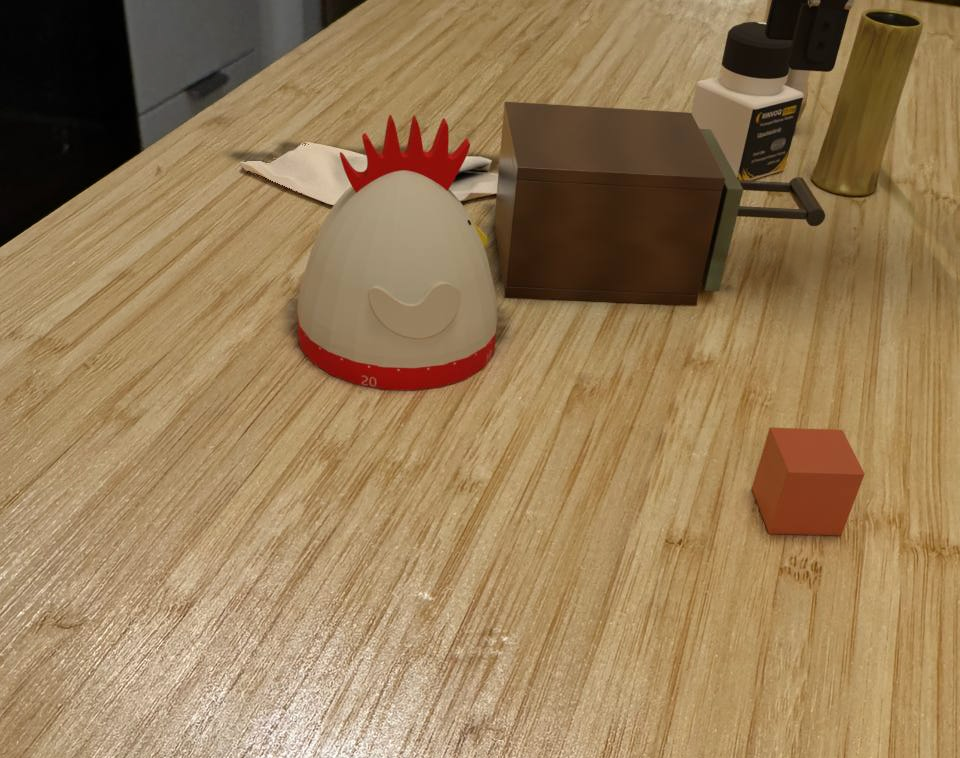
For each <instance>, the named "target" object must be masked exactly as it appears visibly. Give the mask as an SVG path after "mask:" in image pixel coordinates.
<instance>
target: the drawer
mask: <svg viewBox="0 0 960 758" xmlns="http://www.w3.org/2000/svg"><path fill="white" fill-rule="evenodd" d="M700 131H701V133H702V135H703V137H704V139H705V141H706V143H707V144H708V146H709V148H710V150H711V152H712V154H713V156H714V158H715V160H716V162H717V164H718V166H719V168H720V170H721V171H722V173H723V175H724V177H725V182H724V186H723V190H722V194H721V199H720V203H719V208H718V212H717V217H716V221H715V225H714V230H713V234H712V239H711V243H710V248H709V252H708V257H707V261H706V265H705V270H704V274H703V279H702V283H701V287H702V288H703V291H705V292H720V289H721V287H722V286H721V285H722V281H723V277H724V273H725V270H726V269H725V268H726V264H727V260H728V255H729V253H730V248H731V244H732V239H733V235H734V230H735V226H736V223H737V217H743V218H746V217H747V218H764V219H782V220H784V219H786V220H805V222H806V223H807V225H809V226H810V227H818V226H820V225H821V224H822V223H823V222H824V221H825V219H826V213H825V210H824V209H823V207H822V206H821V204H820V202H819V201H818V199H817V198H816V196H815V195H814V193H813V191H812V190H811V188H810V186H809V185H808V184H807V182H806V181H805V179H804V178H803V177H800V176H796V177H794V178H792V179H791V180H790V181H789V182H784V181H783V182H782V181H768V180H767V181H765V180H750V181H749V180H738V179H737V177H736V175H735V173H734V171H733V170H732V168H731V166H730V164H729V162H728V160H727V158H726V157H725V155H724V153H723V151H722V149H721V147H720V145H719V144H718V142H717V140H716V138H715V136H714V134H713V132H712V131H711V130H710V129H700ZM744 191H753V192H769V193H770V192H771V193H788V194H790V196H791V198H792V200H793V202H794V203H795V204H796V206H797V208H787V207H786V208H784V207H768V206H767V207H766V206H747V205H741V201H742V198H743V193H744Z"/></svg>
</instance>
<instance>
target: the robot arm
mask: <svg viewBox="0 0 960 758" xmlns="http://www.w3.org/2000/svg"><path fill="white" fill-rule="evenodd" d="M854 3H855V0H772V1H771V5H770V10H769V14H768V19H767V23H766V27H765V35H766V36H767V38H769V39H777V40H792V44H791V49H790V53H789V57H788V61H787V64H788V66H789V67H790V68H791V69H792V70H805V71H810V72H822V73H823V72H824V73H829V72H832V71H833V70H834V69H835V65H836V63H837V58H838V54H839V51H840V47H841V44H842V40H843V37H844V32H845V29H846V25H847V21H848V17H849V14H850V11H851V9H852V8H853V6H854Z"/></svg>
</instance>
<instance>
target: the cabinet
mask: <svg viewBox="0 0 960 758" xmlns="http://www.w3.org/2000/svg"><path fill="white" fill-rule="evenodd" d="M497 174H498V184H497V194H496V198H495V207H494V220H493V226H494V232H495V239H496V245H497V252H498V260H499V266H500V272H501V279H502V286H503V293H504V297H505V298H509V299H510V298H511V299H512V298H514V299H533V300H534V299H535V300H536V299H537V300H557V301H559V300H560V301H583V302H602V303H603V302H605V303H623V304H624V303H626V304H631V303H632V304H647V305H648V304H651V305H671V306H672V305H673V306H674V305H675V306H694V307H695V306H697V305H698V301H699V298H700V297H699V296H700V293H701V288H702V279H703V274H704V270H705V265H706V261H707V257H708V252H709V248H710V243H711V239H712V234H713V230H714V225H715V221H716V217H717V212H718V208H719V203H720V199H721V194H722V190H723V186H724V182H725V177H724V175H723V173H722V171H721V170H720V168H719V166H718V164H717V162H716V160H715V158H714V156H713V154H712V152H711V150H710V148H709V146H708V144H707V143H706V141H705V139H704V137H703V135H702V133H701V131H700V129H699V127H698V125H697V123H696V121H695V119H694V117H693V116H692V114H691V112H686V111H684V112H683V111H667V110H650V109H633V108H632V109H631V108H619V107H617V108H616V107H601V106H584V105H569V104H568V105H567V104H552V103H551V104H549V103H536V102H535V103H534V102H518V101H517V102H516V101H504V103H503V115H502V128H501V140H500V151H499V161H498V173H497Z"/></svg>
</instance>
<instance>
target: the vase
mask: <svg viewBox="0 0 960 758" xmlns="http://www.w3.org/2000/svg"><path fill="white" fill-rule="evenodd" d="M923 27H924V21H923V20H922V19H921V18H920V17H919V16H917V15H914V14H911V13H909V12H905V11H900V10H895V9H888V8H887V9H886V8H871V9H866V10H864V11H863V12H862V13H861V16H860V18H859V23H858V27H857V29H856V30H857V31H856V34H855V37H854V41H853V44H852V48H851V52H850V55H849V58H848V60H847V64H846V68H845V71H844V75H843V78H842V81H841V84H840V88H839V90H838V94H837V97H836V101H835V104H834V107H833V110H832V114H831V117H830V120H829V124H828V127H827V130H826V133H825V136H824V139H823V142H822V145H821V149H820V152H819V155H818V159H817V161H816V164H815V166H814V169H813V171H812V172H811V174H810V175H811V181H812V182H813V183H814V184H815V185H816V186H818V187H819V188H821V189H822V190H824V191H827V192H830V193H832V194H836V195H841V196H846V197H847V196H848V197H864V196H867V195H870V194H872V193H874V192H875V191H876V190H877V188H878V181H879V177H880V170H881V167H882V162H883V159H884V155H885V152H886V147H887V145H888V142H889V139H890V138H889V137H890V135H891V131H892V128H893V124H894V122H895V121H894V120H895V117H896V114H897V110H898V107H899V104H900V100H901V97H902V94H903V91H904V88H905V85H906V82H907V78H908V76H909V72H910V70H911V66H912V63H913V60H914V57H915V54H916V51H917V48H918V44H919V41H920V38H921V35H922V32H923Z"/></svg>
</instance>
